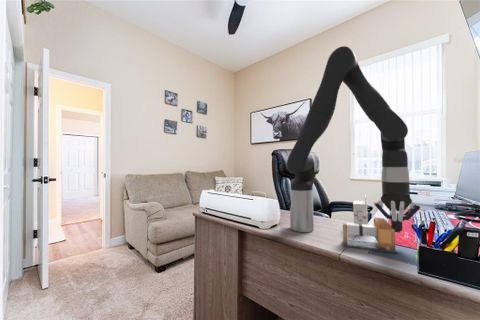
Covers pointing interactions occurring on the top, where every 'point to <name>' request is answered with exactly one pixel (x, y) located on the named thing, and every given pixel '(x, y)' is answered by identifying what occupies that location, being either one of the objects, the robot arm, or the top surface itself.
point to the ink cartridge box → (360, 212)
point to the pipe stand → (365, 231)
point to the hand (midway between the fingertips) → (396, 231)
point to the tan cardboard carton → (383, 232)
